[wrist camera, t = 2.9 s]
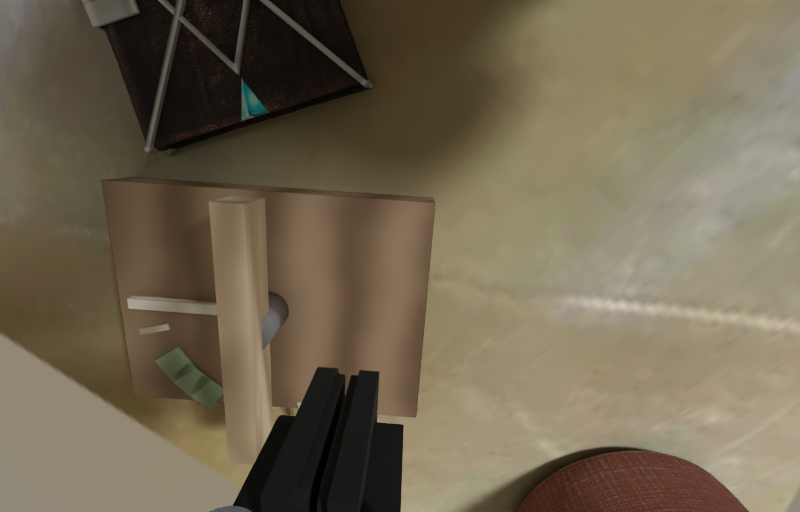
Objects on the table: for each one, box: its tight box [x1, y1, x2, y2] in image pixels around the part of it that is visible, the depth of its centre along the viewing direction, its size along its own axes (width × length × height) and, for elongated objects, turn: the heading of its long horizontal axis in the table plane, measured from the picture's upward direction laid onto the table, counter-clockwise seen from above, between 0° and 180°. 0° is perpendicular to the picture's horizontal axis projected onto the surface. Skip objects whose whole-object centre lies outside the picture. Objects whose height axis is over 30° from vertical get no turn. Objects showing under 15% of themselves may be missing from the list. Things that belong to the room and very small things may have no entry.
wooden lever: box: [127, 196, 289, 465], centre depth 26 cm, size 12×18×6 cm, turn 176°
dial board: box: [101, 177, 435, 417], centre depth 31 cm, size 24×20×3 cm
